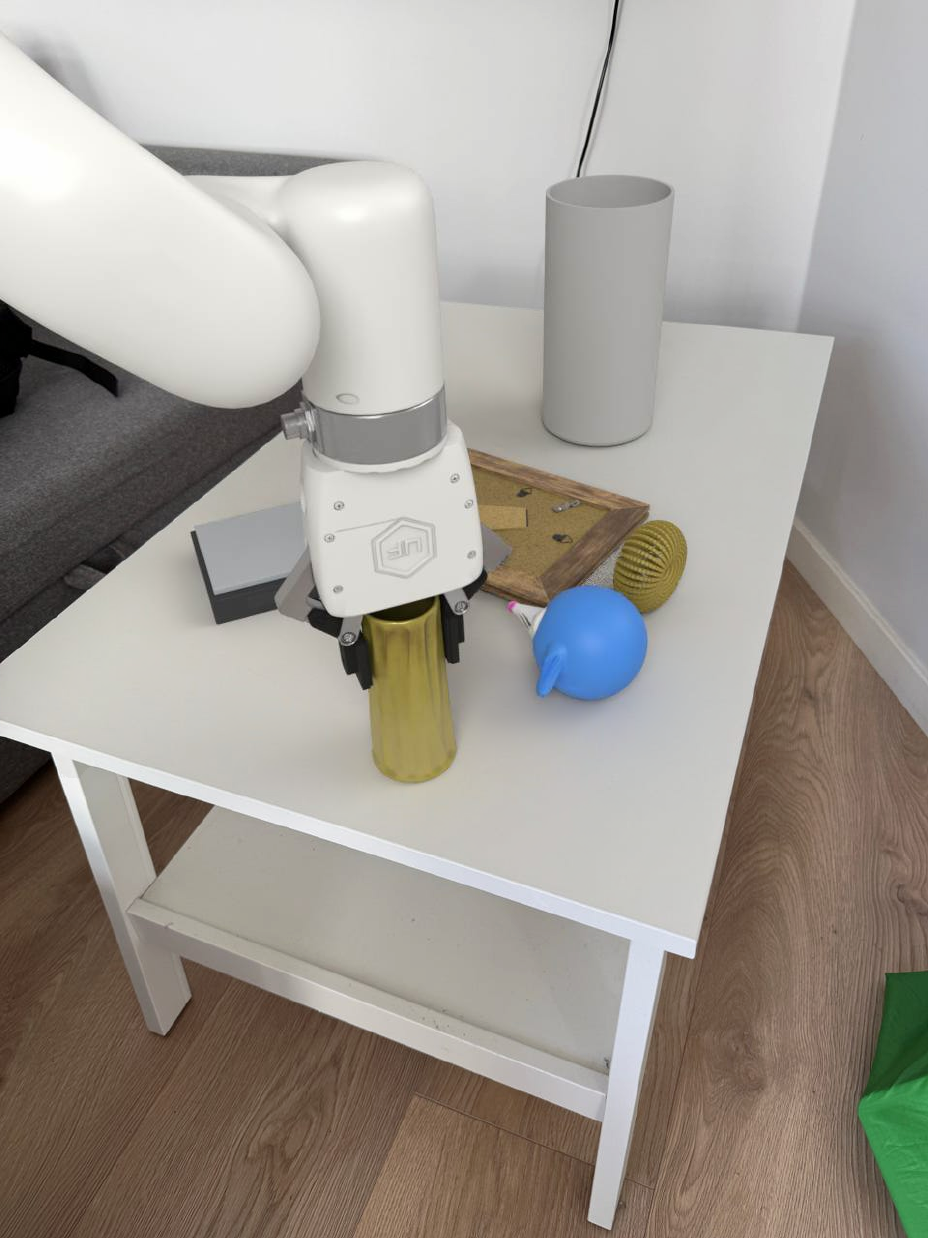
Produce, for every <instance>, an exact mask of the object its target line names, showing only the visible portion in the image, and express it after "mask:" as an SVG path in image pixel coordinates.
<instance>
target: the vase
mask: <svg viewBox="0 0 928 1238" xmlns="http://www.w3.org/2000/svg"><path fill="white" fill-rule="evenodd" d="M360 628H361V631H362V633H363V635H364V637H365V640H366V642H367V645H368V651H369V658H370V665H371V672H372V680H373V686H371V688H370V689H367V691H368V701H369V724H370V732H371V739H372V745H373V746H372V759H373V762H374V764H375V766H376V768H377V769H378V770H379V772H380V773H382V774H383V775H384V776H386V777H388V778H390V779H392V780H394V781H398V782H402V783H421V782H425V781H430V780H432V779H435V778H436V777H438V776H440V775H441V774H443V773H445V771H446V770H447V769H448V768H450V766H451V765H452V763H453V762H454V760H455V757H456V753H457V743H456V740H455V735H454V727H453V719H452V710H451V703H450V691H449V683H448V674H447V673H448V672H447V661H446V658H445V653H444V643H443V632H442V624H441V614H440V600H439V595H436V596H432V597H428V598H425V599H421V600H417V601H414V602H410V603H406V604H403V605H399V606H395V607H391V608H388V609H384V610H380V611H376V612H372V613H368V614H364V615H363V619H362V623H361V627H360Z"/></svg>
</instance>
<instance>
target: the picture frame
mask: <svg viewBox="0 0 928 1238" xmlns="http://www.w3.org/2000/svg"><path fill="white" fill-rule="evenodd" d="M466 448H467V451H468V456H469V460H470V465H471V469H472V475H473V480H474V486H475V492H476V498H477V504H478V512H479V519H480V521H481V522H482V523H483V524H485V525H486V526H487V527H489V528H490V529H491V530H492V531H494V532H495V533H496V534H498V535H499V536H500V537H501V538H502V539H503V541H504V542H505V543H506V544H507V546H508V547H509V549H510V551H509V554H508V555H507V556H506V557H505V558H504V559H503V560H502V562H501V563H500V564H499V565H498V566H497V567H496V568H495V569H494V570H493V571H492V572H491V571H490V572H489V573H488V577H487V580H486V581H485V583H484V584H483V585H482V586H481V587H480V588H479V590H482V591H485V592H488V593H490V594H493V595H495V596H498V597H500V598H502V599H506V600H508V601H510V602H512V601H516V602H518V603H519V604H524V605H529V606H534V607H540V608H545V607H546V606H547V605H548V604H549V603H550V602H551V600H552V599H553V598H554V597H556V596H557V595H558V594H560V593H562V592H563V591H565V590H567V589H571V588H574V587H578V586H582V584H583V583H584V582H585V581H586V580H588V578H589V577H590V576H591V575H592V574H593V573H594V572H595V571H596V570H597V569H598V568H599V567H600V566H601V565H602V564H603V563H604V562H605V561H606V560H607V559H608V558H609V557H610V556H611V555H612V554H613V553H614V552H615V551H616V550H617V549H618V548H619V547H620V546H621V545H622V544H624V543H625V541H626V540H627V538H629V536H630V535H631V533H632V532H634V531H635V530H636V529H637V528H638V527H639V526H641V525H643V524H644V523H645V520H647V519H648V518H649V517H650V512H649V510H650V507H651V504H649V503H646V502H644V501H641V500H637V499H633V498H631V497H627V496H624V495H621V494H617V493H614V492H611V491H608V490H604V489H601V488H599V487H595V486H592V485H588V484H585V483H582V482H579V481H575V480H573V479H569V478H566V477H562V476H560V475H556V474H553V473H550V472H547V471H543V470H540V469H537V468H534V467H531V466H528V465H524V464H521V463H518V462H515V461H511V460H508V459H505V458H501V457H499V456H496V455H493V454H489V453H486V452H483V451H479V450H476V449H473V448H470V447H467V446H466ZM470 556H471V554H470Z"/></svg>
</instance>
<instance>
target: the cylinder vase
mask: <svg viewBox="0 0 928 1238" xmlns="http://www.w3.org/2000/svg"><path fill="white" fill-rule="evenodd" d="M675 195H676V190H675V187H673V185H671V184H669V183H668V182H665V181H663V180H660V179H656V178H652V177H648V176H647V177H646V176H639V175H632V174H631V175H630V174H629V175H628V174H596V175H595V174H594V175H586V176H577V177H573V178H569V179H568V178H567V179H563V180H561V181H558V182H555V183H554V184H551V185H550V186H549V187H547V188H546V191H545V220H544V221H545V223H544V224H545V225H544V226H545V227H544V229H545V230H544V289H543V290H544V292H543V293H544V295H543V296H544V297H543V306H544V307H543V353H542V355H543V356H542V357H543V360H542V361H543V362H542V421H543V424H544V426H545V428H546V429H547V431H549V432H550V433H551V434H553V435H554V436H555V437H557V438H558V439H560V440H562V441H566V442H568V443H571V444H575V445H579V446H588V447H610V446H612V447H613V446H617V445H622V444H626V443H629V442H631V441H634V440H636V439H638V438H640V437H641V436H643V435H644V434H645V433H646V432H648V430H649V428H650V427H651V426H652V423H653V419H654V409H655V408H654V407H655V399H656V388H657V379H658V378H657V377H658V367H659V357H660V346H661V338H662V327H663V326H662V325H663V316H664V307H665V295H666V287H667V286H666V285H667V278H668V277H667V275H668V266H669V265H668V264H669V256H670V246H671V237H672V236H671V235H672V225H673V214H674V205H675Z"/></svg>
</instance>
